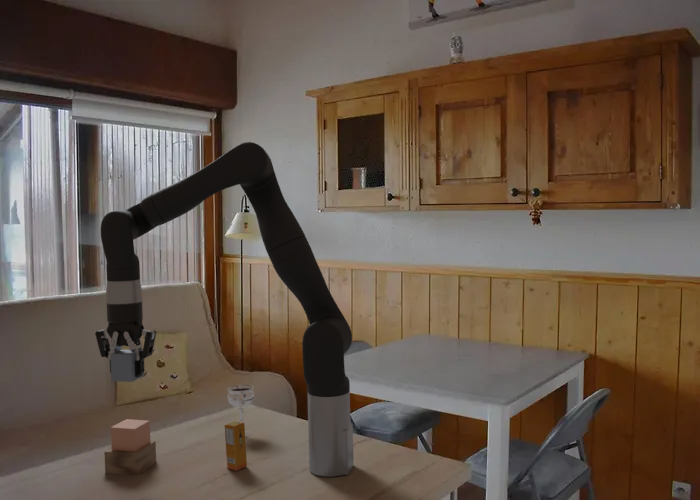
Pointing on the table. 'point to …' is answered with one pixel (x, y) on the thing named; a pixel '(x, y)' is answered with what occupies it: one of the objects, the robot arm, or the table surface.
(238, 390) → the wineglass
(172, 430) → the table surface
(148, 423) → the top block
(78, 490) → the table surface
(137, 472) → the base block
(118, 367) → the slate block
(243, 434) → the supplement box
